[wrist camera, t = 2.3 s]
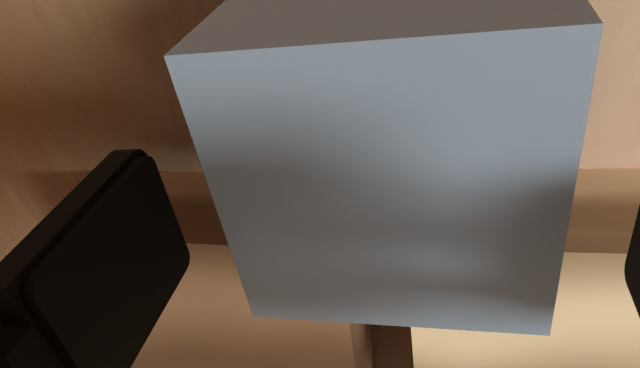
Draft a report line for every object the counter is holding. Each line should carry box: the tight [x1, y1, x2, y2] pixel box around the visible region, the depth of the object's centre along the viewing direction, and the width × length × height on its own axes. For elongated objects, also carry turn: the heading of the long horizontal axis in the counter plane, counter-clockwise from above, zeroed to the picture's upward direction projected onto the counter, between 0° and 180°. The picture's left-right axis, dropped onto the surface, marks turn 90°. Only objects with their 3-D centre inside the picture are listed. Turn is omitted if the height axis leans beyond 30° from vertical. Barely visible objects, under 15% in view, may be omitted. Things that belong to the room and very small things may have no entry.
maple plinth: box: [411, 168, 640, 368], centre depth 17 cm, size 12×12×4 cm
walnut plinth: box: [131, 172, 374, 368], centre depth 20 cm, size 12×10×4 cm
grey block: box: [164, 0, 603, 336], centre depth 11 cm, size 6×6×7 cm
